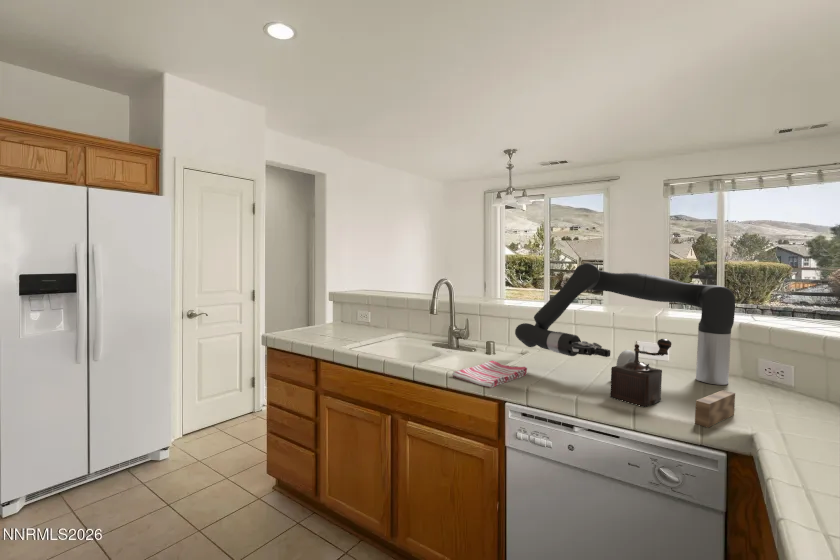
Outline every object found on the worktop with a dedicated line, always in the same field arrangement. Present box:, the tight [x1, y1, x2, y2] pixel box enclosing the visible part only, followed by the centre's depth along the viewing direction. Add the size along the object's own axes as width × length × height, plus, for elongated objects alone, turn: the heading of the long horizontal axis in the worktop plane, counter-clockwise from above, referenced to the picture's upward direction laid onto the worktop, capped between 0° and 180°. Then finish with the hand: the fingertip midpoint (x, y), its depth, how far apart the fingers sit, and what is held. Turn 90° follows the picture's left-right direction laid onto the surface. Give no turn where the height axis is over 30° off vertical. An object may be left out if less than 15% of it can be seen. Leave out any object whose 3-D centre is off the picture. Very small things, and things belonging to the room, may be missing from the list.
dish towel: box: [451, 360, 528, 389], centre depth 146 cm, size 17×23×4 cm
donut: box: [615, 349, 635, 366], centre depth 145 cm, size 10×4×10 cm, turn 124°
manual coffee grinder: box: [609, 338, 672, 408], centre depth 124 cm, size 16×11×18 cm
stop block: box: [694, 389, 736, 428], centre depth 108 cm, size 16×3×6 cm, turn 124°
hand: (609, 353), depth 133 cm, fingers closed
